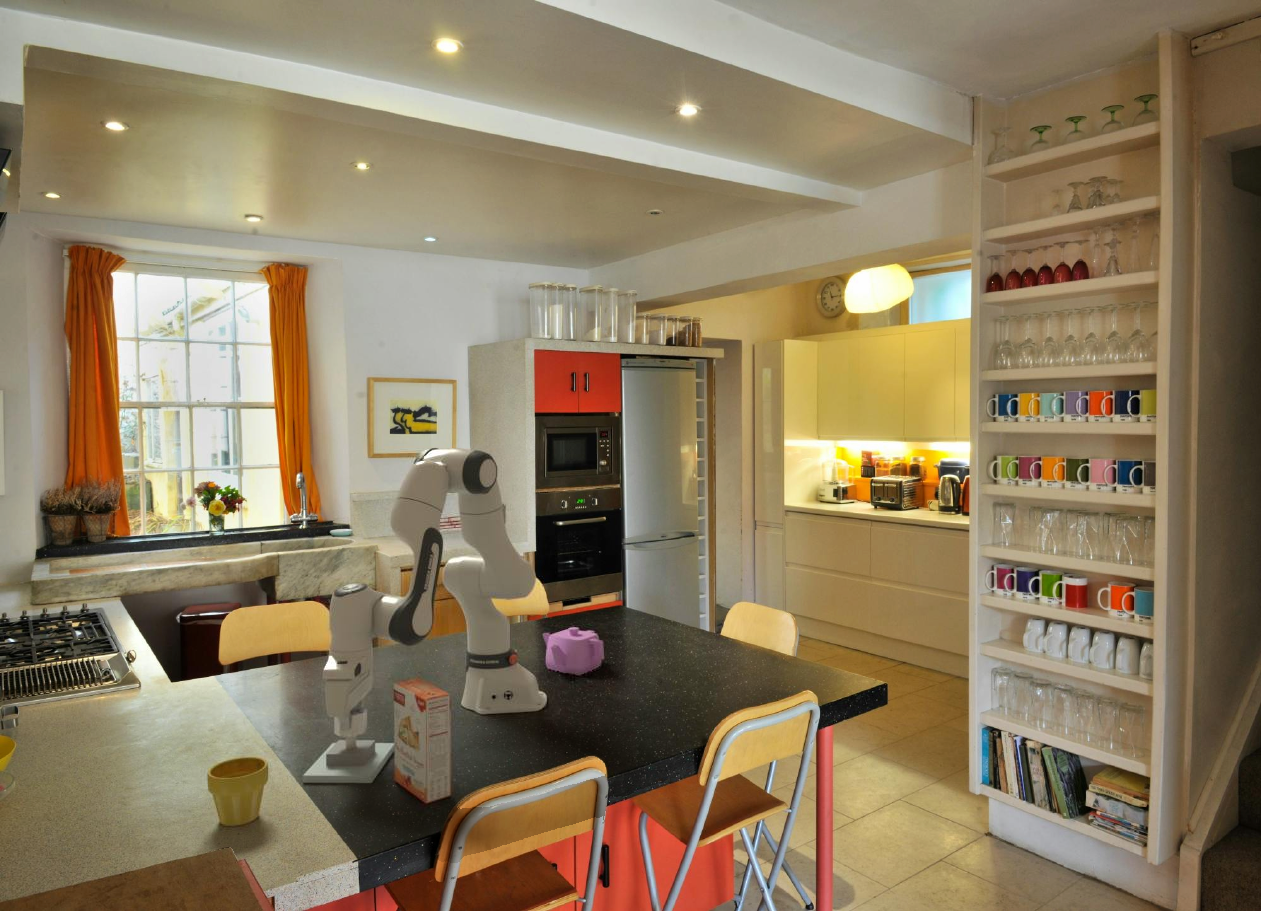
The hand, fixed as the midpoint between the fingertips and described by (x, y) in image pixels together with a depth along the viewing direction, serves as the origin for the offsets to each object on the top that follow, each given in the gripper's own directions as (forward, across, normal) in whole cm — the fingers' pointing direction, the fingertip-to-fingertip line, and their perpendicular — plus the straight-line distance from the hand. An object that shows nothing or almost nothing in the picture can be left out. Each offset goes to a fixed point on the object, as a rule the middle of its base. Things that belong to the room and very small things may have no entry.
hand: (351, 724), depth 184 cm
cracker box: (+9, +12, +18) cm, 23 cm away
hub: (+2, 0, 0) cm, 2 cm away
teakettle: (+9, -75, +43) cm, 87 cm away
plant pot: (+9, +25, -13) cm, 30 cm away
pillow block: (+9, 0, 0) cm, 9 cm away
